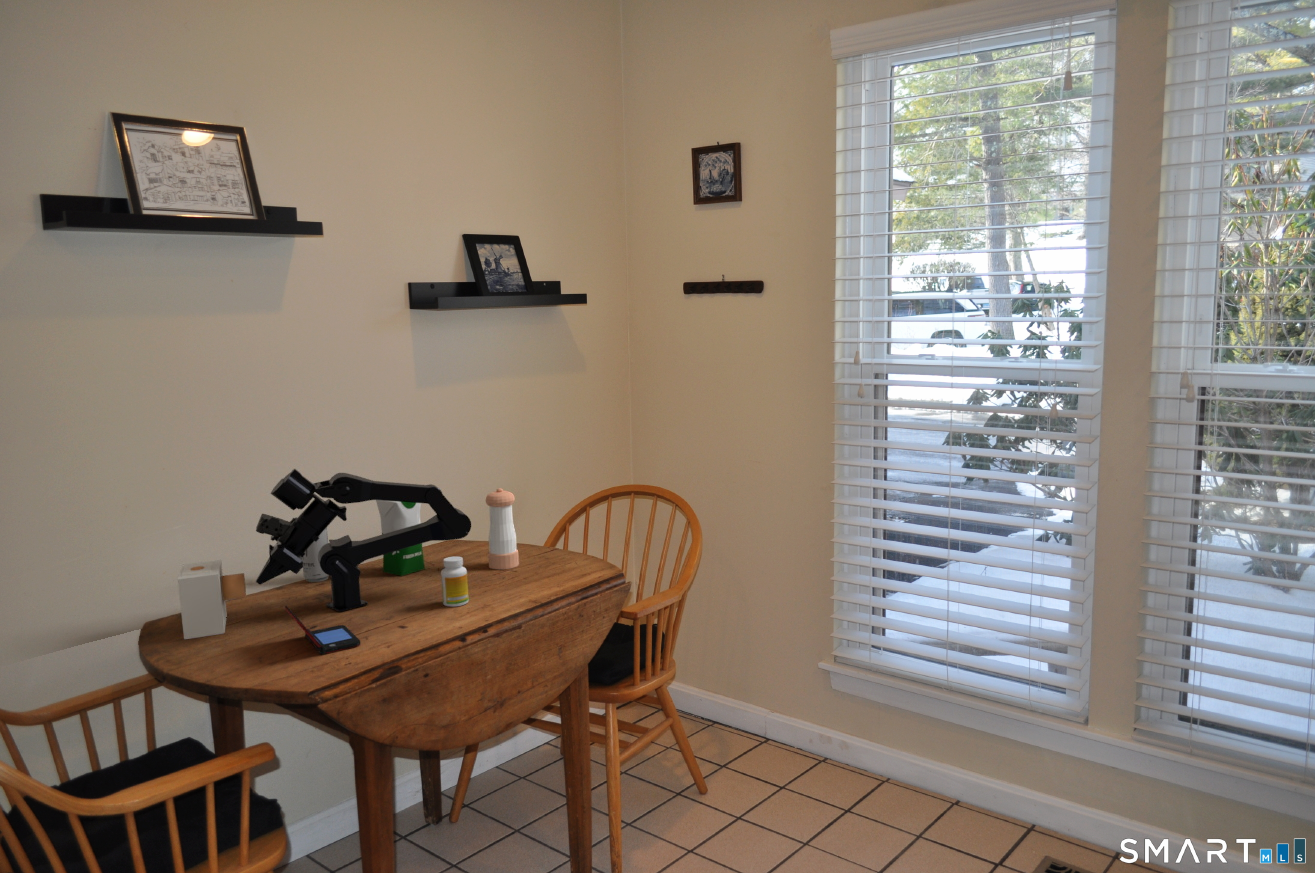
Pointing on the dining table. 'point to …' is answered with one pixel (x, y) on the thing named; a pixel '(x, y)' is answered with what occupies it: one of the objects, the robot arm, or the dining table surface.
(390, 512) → the milk carton
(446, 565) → the supplement bottle
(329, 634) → the handheld game console
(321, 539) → the energy drink can
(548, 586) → the dining table surface
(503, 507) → the pepper shaker
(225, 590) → the button
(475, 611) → the dining table surface
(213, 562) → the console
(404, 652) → the dining table surface
